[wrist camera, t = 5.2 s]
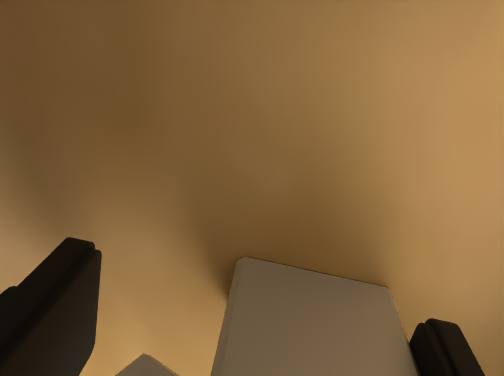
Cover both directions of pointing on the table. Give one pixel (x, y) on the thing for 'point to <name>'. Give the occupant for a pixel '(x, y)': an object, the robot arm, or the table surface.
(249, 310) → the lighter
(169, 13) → the table surface
